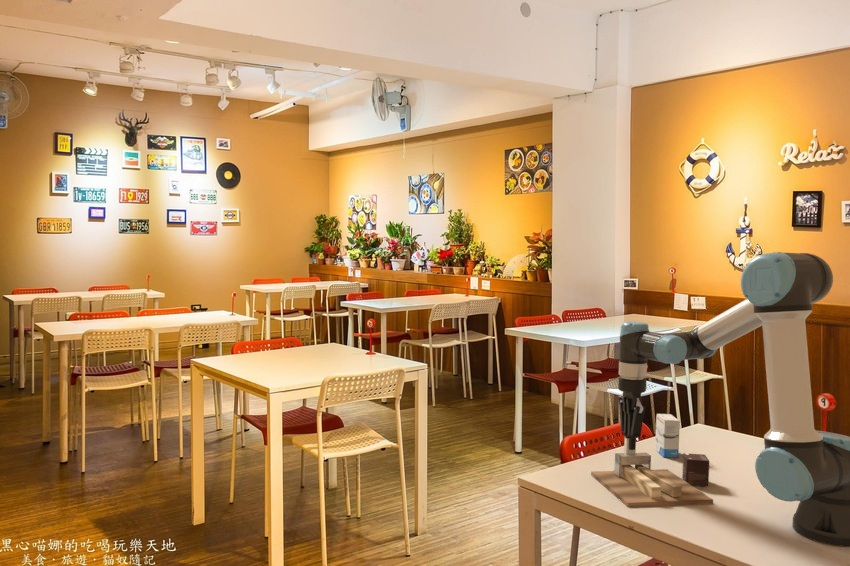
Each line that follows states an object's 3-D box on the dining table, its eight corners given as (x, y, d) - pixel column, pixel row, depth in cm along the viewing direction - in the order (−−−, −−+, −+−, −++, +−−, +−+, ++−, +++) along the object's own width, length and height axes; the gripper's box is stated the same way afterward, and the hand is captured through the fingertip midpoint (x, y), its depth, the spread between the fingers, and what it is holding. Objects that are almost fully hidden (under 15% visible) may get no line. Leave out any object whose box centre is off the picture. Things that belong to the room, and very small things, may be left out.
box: (708, 487, 192) (709, 460, 192) (685, 485, 193) (686, 459, 193) (704, 480, 198) (705, 454, 198) (681, 478, 199) (682, 452, 199)
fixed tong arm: (660, 498, 180) (661, 487, 180) (651, 499, 179) (651, 487, 179) (624, 471, 201) (624, 460, 201) (616, 471, 201) (616, 461, 200)
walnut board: (713, 503, 180) (713, 499, 180) (627, 506, 176) (627, 502, 176) (667, 472, 204) (667, 469, 204) (591, 475, 200) (591, 471, 200)
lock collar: (650, 475, 196) (651, 455, 196) (618, 476, 195) (619, 456, 195) (645, 472, 199) (646, 452, 199) (614, 473, 198) (615, 453, 198)
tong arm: (632, 474, 198) (633, 464, 198) (640, 473, 198) (640, 464, 198) (673, 497, 180) (673, 486, 180) (681, 496, 181) (681, 485, 181)
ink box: (678, 458, 218) (680, 420, 217) (663, 457, 218) (664, 420, 217) (669, 449, 227) (671, 413, 226) (654, 449, 227) (655, 413, 226)
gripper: (656, 381, 192) (652, 466, 193) (635, 372, 205) (632, 452, 206) (629, 381, 191) (626, 467, 192) (610, 372, 204) (607, 453, 205)
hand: (629, 459), depth 199 cm, fingers closed
